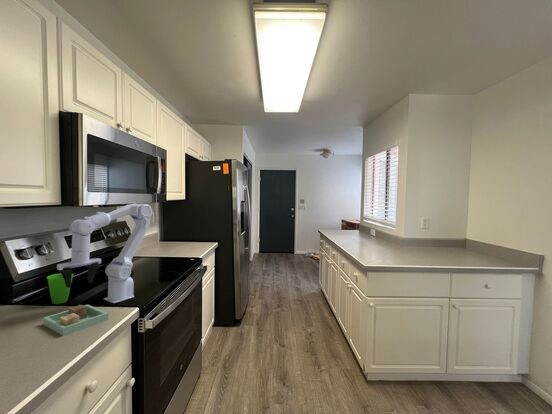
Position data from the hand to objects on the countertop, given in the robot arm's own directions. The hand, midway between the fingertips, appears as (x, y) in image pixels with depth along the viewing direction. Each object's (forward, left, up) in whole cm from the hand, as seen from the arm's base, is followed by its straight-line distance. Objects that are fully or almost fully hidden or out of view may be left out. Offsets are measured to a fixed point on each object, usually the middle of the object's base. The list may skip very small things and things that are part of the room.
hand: (79, 284), depth 105 cm
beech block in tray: (+9, +14, -10) cm, 19 cm away
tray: (+6, +11, -10) cm, 16 cm away
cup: (0, -16, -11) cm, 19 cm away
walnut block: (+4, +8, -10) cm, 13 cm away
